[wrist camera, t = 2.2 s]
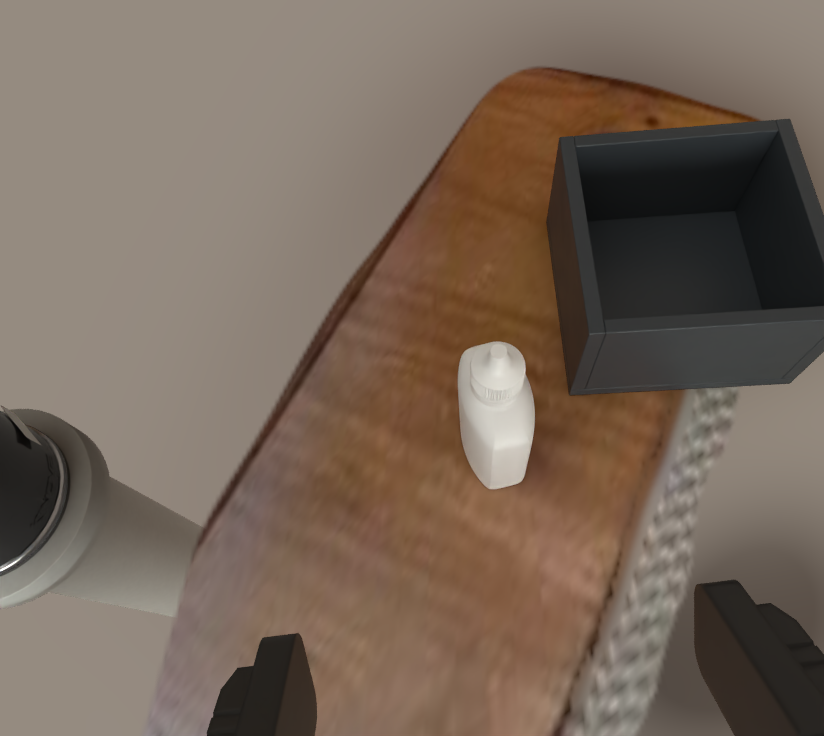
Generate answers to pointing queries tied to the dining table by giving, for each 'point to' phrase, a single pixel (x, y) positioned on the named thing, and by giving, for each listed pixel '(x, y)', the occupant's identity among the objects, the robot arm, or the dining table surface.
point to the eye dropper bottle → (495, 413)
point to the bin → (686, 258)
